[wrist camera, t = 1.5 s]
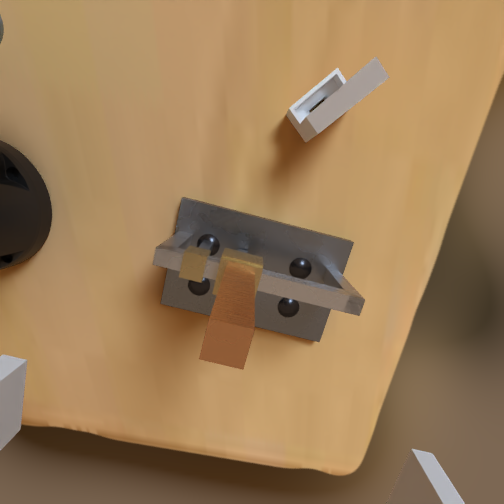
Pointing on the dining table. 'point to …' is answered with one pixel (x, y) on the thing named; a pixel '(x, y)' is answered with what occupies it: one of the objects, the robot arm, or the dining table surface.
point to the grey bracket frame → (203, 265)
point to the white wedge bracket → (334, 98)
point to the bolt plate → (274, 259)
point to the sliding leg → (233, 309)
